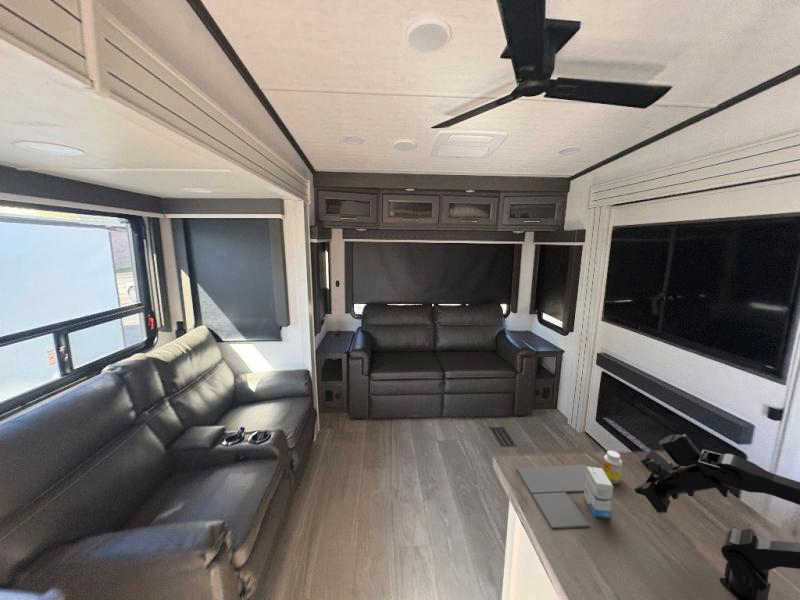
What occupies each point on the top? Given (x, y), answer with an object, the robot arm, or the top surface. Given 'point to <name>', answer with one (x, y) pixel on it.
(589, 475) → the ink box
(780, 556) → the robot arm
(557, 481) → the rubber mat
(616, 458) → the supplement bottle
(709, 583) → the top surface
